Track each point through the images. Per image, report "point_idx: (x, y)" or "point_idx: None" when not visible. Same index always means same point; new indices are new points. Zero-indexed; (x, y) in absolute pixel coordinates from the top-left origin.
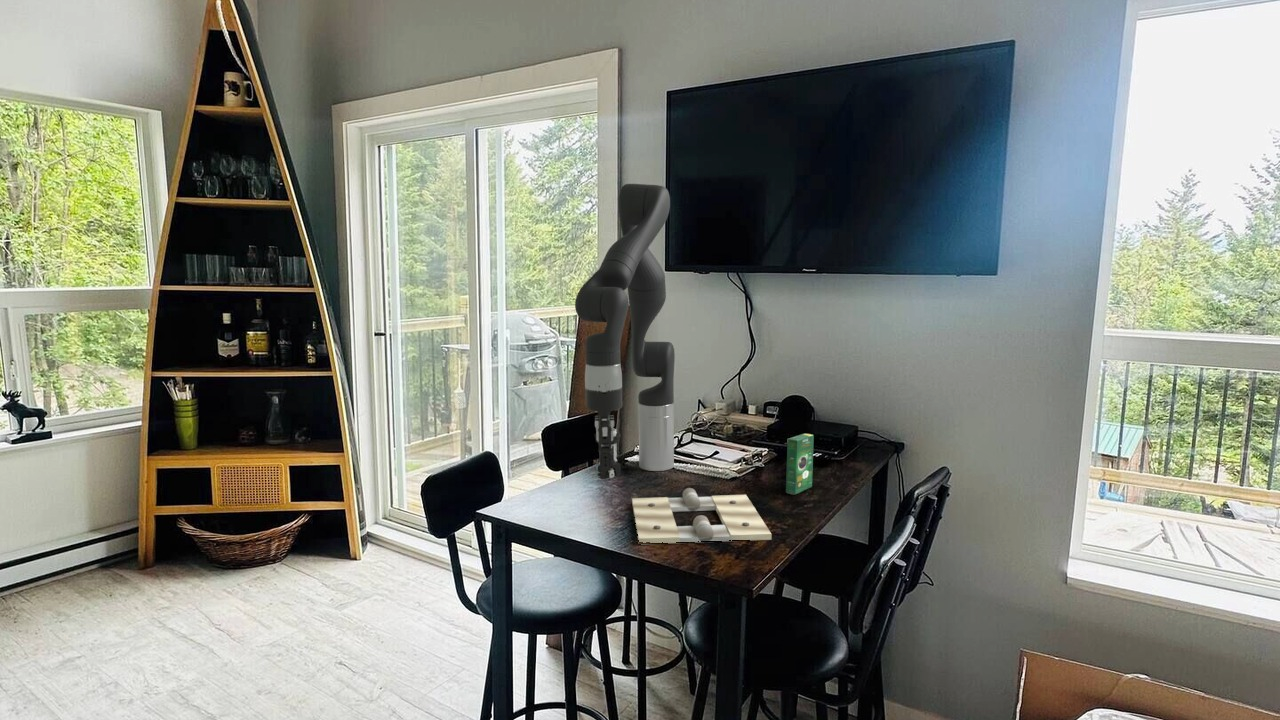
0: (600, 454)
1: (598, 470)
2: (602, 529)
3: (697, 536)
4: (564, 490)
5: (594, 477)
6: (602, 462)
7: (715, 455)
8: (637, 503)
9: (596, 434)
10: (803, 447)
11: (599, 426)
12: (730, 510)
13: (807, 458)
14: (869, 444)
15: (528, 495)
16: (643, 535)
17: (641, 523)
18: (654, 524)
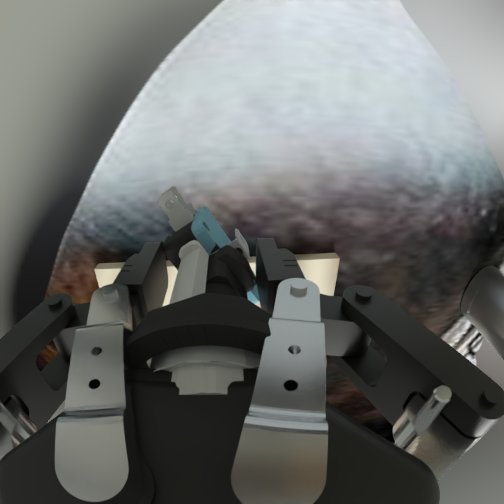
0: (124, 284)
1: (187, 226)
2: (173, 185)
3: None
4: (435, 108)
5: (166, 201)
6: (121, 272)
7: (469, 356)
8: (303, 269)
9: (70, 361)
10: None
11: (30, 439)
12: None
13: None
14: None
15: (412, 28)
16: (110, 278)
17: (173, 276)
18: (169, 300)
